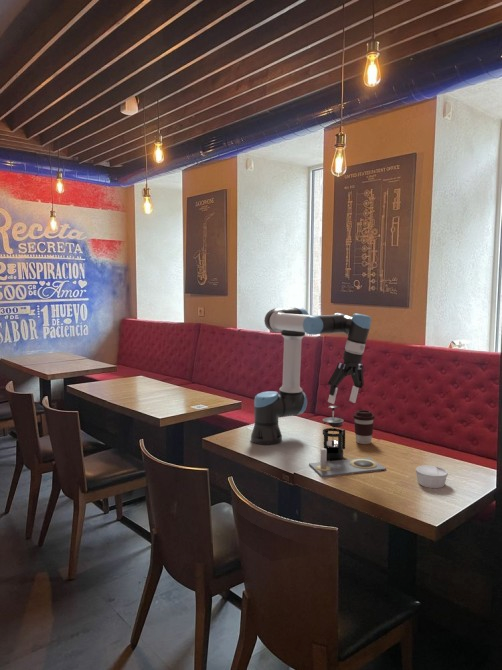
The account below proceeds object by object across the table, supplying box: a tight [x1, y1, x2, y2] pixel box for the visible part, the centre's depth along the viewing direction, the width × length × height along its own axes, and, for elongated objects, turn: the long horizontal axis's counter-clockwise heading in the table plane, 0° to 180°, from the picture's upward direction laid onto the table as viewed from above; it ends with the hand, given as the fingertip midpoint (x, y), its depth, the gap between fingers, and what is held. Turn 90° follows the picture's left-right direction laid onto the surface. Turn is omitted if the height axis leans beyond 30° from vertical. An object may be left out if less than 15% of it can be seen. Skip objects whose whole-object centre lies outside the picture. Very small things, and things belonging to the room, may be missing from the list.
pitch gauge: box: [308, 447, 387, 478], centre depth 202 cm, size 14×28×9 cm, turn 105°
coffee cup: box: [353, 409, 376, 445], centre depth 236 cm, size 10×10×15 cm
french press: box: [322, 405, 346, 462], centre depth 214 cm, size 12×9×23 cm
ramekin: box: [415, 465, 448, 489], centre depth 185 cm, size 11×11×5 cm
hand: (341, 402), depth 200 cm, fingers open, 13 cm apart
